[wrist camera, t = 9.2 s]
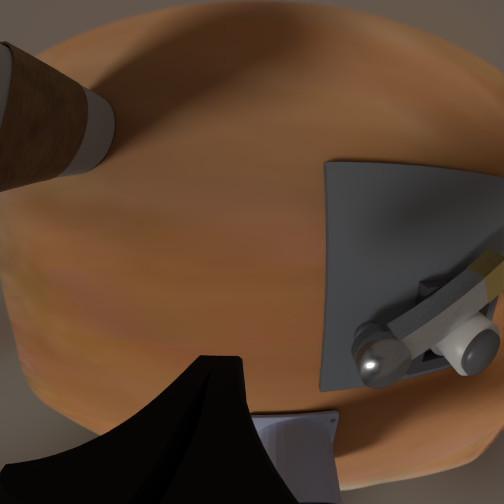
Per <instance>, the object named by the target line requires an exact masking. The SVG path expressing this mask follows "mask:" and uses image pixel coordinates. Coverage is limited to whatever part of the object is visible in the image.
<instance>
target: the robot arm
mask: <svg viewBox="0 0 504 504" xmlns="http://www.w3.org/2000/svg"><path fill="white" fill-rule="evenodd" d="M338 420H339V412H338V411H336V410H333V411H324V412H313V413H301V414H283V415H250V412H249V409H248V405H247V402H246V391H245V381H244V372H243V362H242V359H241V358H240V357H239V356H207V355H200V356H199V357H198V358H197V359H196V360H195V361H194V362H193V363H192V364H191V365H190V366H189V367H188V368H187V369H186V370H185V371H184V372H183V373H182V374H181V375H180V376H179V377H178V378H177V379H176V380H175V381H174V382H173V383H171V384H170V385H169V386H168V387H167V388H166V389H165V390H164V391H163V392H162V393H161V394H160V395H158V396H157V397H156V398H155V399H154V400H153V401H151V402H150V403H149V404H148V405H146V406H145V407H144V408H143V409H141V410H140V411H139V412H138V413H136V414H135V415H134V416H132V417H131V418H129V419H128V420H126V421H125V422H123V423H122V424H120V425H118V426H117V427H115V428H114V429H112V430H110V431H109V432H107V433H105V434H103V435H101V436H99V437H97V438H95V439H93V440H91V441H89V442H87V443H84V444H82V445H81V446H78V447H76V448H73V449H70V450H67V451H65V452H62V453H59V454H56V455H52V456H49V457H45V458H41V459H37V460H32V461H26V462H20V463H13V464H6V465H5V466H4V468H3V469H2V470H1V472H0V504H344V503H342V500H341V494H340V488H339V482H338V476H337V470H336V464H335V458H334V453H333V447H332V445H333V441H334V437H335V433H336V429H337V424H338Z"/></svg>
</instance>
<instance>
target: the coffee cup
mask: <svg viewBox="0 0 504 504" xmlns="http://www.w3.org/2000/svg"><path fill="white" fill-rule="evenodd" d="M114 130H115V117H114V113H113V110H112V108H111V106H110V104H109V103H108V102H107V101H106V100H105V99H104V98H102V97H101V96H99V95H97V94H96V93H94V92H92V91H90V90H89V89H87V88H85V87H83V86H82V85H80V84H79V83H77V82H76V81H74V80H73V79H71V78H69V77H68V76H66V75H64V74H63V73H61V72H59V71H58V70H56V69H54V68H52V67H51V66H49V65H47V64H46V63H44V62H42V61H40V60H39V59H37V58H35V57H33V56H32V55H30V54H28V53H26V52H24V51H23V50H21V49H19V48H17V47H15V46H13V45H12V44H10V43H8V42H6V41H5V42H0V192H2V191H6V190H9V189H13V188H17V187H21V186H25V185H29V184H33V183H37V182H41V181H46V180H50V179H52V178H58V177H64V176H71V175H77V174H83V173H85V172H88V171H90V170H91V169H93V168H95V167H96V166H97V165H98V164H99V163H100V162H101V160H102V159H103V158H104V157H105V155H106V153H107V152H108V150H109V148H110V145H111V143H112V140H113V136H114Z"/></svg>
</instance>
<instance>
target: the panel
mask: <svg viewBox="0 0 504 504" xmlns="http://www.w3.org/2000/svg"><path fill="white" fill-rule="evenodd" d="M324 180H325V207H326V283H325V310H324V329H323V344H322V357H321V368H320V379H319V389H320V392H326V391H336V390H344V389H351V388H358V387H365V386H366V385H365V384H364V383H363V382H362V379H361V377H360V375H359V372H358V370H357V367H356V365H355V363H354V360H353V358H352V355H351V347H352V344H353V342H354V340H355V338H356V337H357V336H358V335H359V334H360V333H361V332H362V331H363V330H365V329H366V328H368V327H370V326H372V325H376V324H386V325H387V324H388V323H390V322H392V321H393V320H395V319H396V318H398V317H400V316H401V315H403V314H404V313H406V312H407V311H409V310H411V309H412V308H414V307H415V306H417V305H418V304H420V303H421V302H422V301H424V300H425V299H427V298H428V297H430V296H431V295H432V294H434V293H435V292H437V291H438V290H439V289H441V288H442V287H444V286H445V285H446V284H448V283H449V282H450V281H452V280H453V279H454V278H455V277H457V276H458V275H459V274H461V273H462V272H463V271H464V270H466V269H467V267H468V266H469V265H470V264H471V263H473V262H474V261H475V260H476V259H477V258H479V257H480V256H481V255H482V254H483V253H485V252H486V251H487V250H491V251H493V252H496V253H498V254H500V255H503V256H504V177H499V176H494V175H488V174H482V173H475V172H469V171H462V170H454V169H446V168H437V167H427V166H416V165H403V164H387V163H365V162H324ZM497 298H498V295H497V296H496V297H495V298H494V299H493V300H492V301H491V302H490V303H487V304H486V305H485V306H484V307H483V308H482V309H480V310H479V312H480V313H482V314H483V315H484V316H485V317H487V318H488V319H489V320H491V321H492V318H493V314H494V310H495V306H496V302H497ZM449 367H453V366H452V365H451V364H450V363H449V361H448V360H447V359H446V358H445V357H444V356H441V355H437V354H435V353H434V352H433V351H432V350H431V349H430V348H429V349H428V350H426V351H425V352H423V353H422V354H420V355H419V356H417V357H416V358H414V359H413V360H412V361H411V365H410V367H409V369H408V371H407V372H406V374H405V375H404V376H403V377H402V378H401V379H400V380H403V379H407V378H412V377H416V376H420V375H424V374H428V373H432V372H435V371H439V370H443V369H446V368H449Z"/></svg>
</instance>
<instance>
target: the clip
mask: <svg viewBox="0 0 504 504" xmlns="http://www.w3.org/2000/svg"><path fill="white" fill-rule="evenodd" d="M503 290H504V256H503V255H500V254H498V253H496V252H493V251H491V250H487V251H486V252H485V253H483V254H482V255H481V256H480V257H479V258H477V259H476V260H475V261H474V262H473V263H471V264H470V265H469V266H468V267H467V269H466V270H464V271H463V272H462V273H461V274H459V275H458V276H457V277H455V278H454V279H453V280H452V281H450V282H449V283H448V284H446V285H445V286H444V287H442V288H441V289H439V290H438V291H437V292H435V293H434V294H432V295H431V296H430V297H428V298H427V299H425V300H424V301H422V302H421V303H420V304H418V305H417V306H415V307H414V308H412V309H411V310H409V311H407V312H406V313H404V314H403V315H401V316H400V317H398V318H396V319H395V320H393V321H392V322H390V323H388V324H387V325H386V324H376V325H372V326H370V327H368V328H366V329H365V330H363V331H362V332H361V333H360V334H359V335H358V336H357V337H356V338H355V340H354V342H353V344H352V347H351V355H352V358H353V360H354V363H355V365H356V367H357V370H358V372H359V375H360V377H361V379H362V382H363V383H364V384H365V385H366V386H367V387H369V388H373V389H380V388H385V387H388V386H390V385H392V384H394V383H396V382H397V381H399V380H400V379H401V378H402V377H403V376H404V375H405V374H406V372H407V371H408V369H409V367H410V365H411V361H412V360H413V359H414V358H416V357H417V356H419V355H420V354H422V353H423V352H425V351H426V350H428V349H429V348H431V347H432V346H434V345H435V344H437V343H438V342H439V341H441V340H442V339H444V338H445V337H446V336H448V335H449V334H450V333H452V332H453V331H454V330H456V329H457V328H458V327H460V326H461V325H462V324H463V323H465V322H466V321H467V320H468V319H470V318H471V317H472V316H473V315H475V314H476V313H477V312H478V311H479V310H480V309H482V308H483V307H484V306H485V305H486V304H487V303H490V302H491V301H492V300H493V299H494V298H495V297H496V296H497V295H499V294H500V293H501V292H502V291H503Z"/></svg>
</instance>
